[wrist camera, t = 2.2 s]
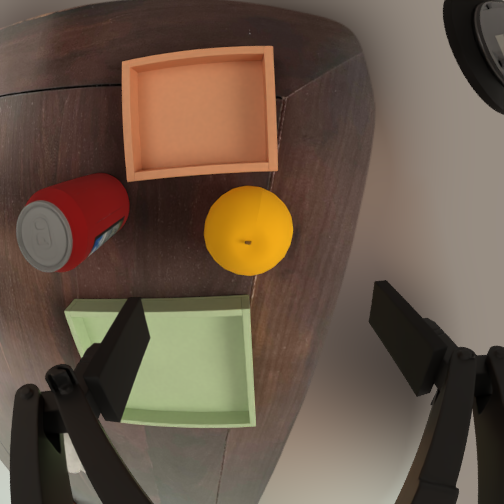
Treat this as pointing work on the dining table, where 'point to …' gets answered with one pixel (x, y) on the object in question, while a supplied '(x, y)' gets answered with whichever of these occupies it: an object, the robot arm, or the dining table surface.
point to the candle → (72, 456)
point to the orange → (248, 230)
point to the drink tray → (199, 113)
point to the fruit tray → (182, 359)
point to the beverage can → (71, 221)
